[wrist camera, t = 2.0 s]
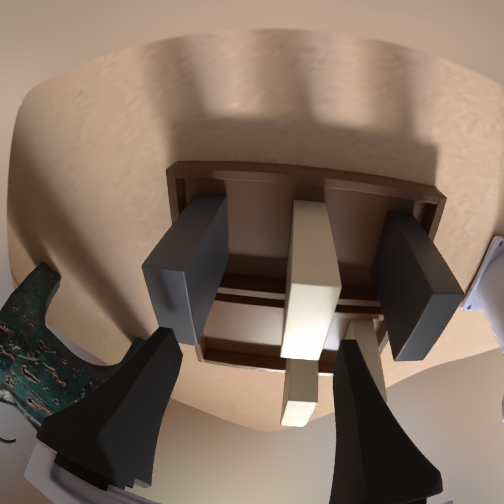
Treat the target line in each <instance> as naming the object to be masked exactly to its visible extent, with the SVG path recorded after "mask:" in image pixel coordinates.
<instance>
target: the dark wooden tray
mask: <svg viewBox="0 0 504 504" xmlns="http://www.w3.org/2000/svg"><path fill="white" fill-rule="evenodd" d="M166 176H167V185H168V194H169V202H170V210H171V218H172V224H173V223H174V222H175V221H176V219H177V218H178V217H179V216H180V214H181V213H182V212H183V211H184V209H185V208H186V207H187V206H188V204H189V203H190V202H191V201H192V200H193V198H194V197H195V196H196V195H197V194H198V193H203V194H224V195H227V212H228V244H229V260H228V263H227V265H226V268H225V271H224V274H223V277H222V279H221V282H220V285H219V288H218V290H217V293H225V294H234V295H243V296H252V297H261V298H271V299H281V300H285V291H286V278H287V263H288V254H289V245H290V235H291V225H292V214H293V203H294V200H303V201H313V202H323V203H325V204H326V208H327V213H328V217H329V222H330V227H331V231H332V236H333V241H334V246H335V251H336V257H337V262H338V268H339V273H340V279H341V285H342V288H341V292H340V295H339V299H338V302H337V304H341V305H356V306H373V307H381V306H380V302H379V299H378V295H377V291H376V288H375V285H374V281H373V278H372V275H371V269H372V265H373V262H374V259H375V256H376V252H377V249H378V245H379V242H380V238H381V235H382V231H383V227H384V223H385V219H386V215H387V212H388V211H393V212H400V213H406V214H412V215H414V217H415V218H416V219H417V221H418V222H419V224H420V225H421V226H422V228H423V229H424V230H425V232H426V233H427V235H428V236H429V238H430V239H431V240H432V242H433V240H434V237H435V234H436V232H437V229H438V226H439V223H440V219H441V216H442V213H443V210H444V206H445V203H446V199H447V198H446V197H445V196H444V195H443V194H442V193H441V192H440V191H439V190H438V189H437V188H436V187H434V186H429V185H425V184H420V183H415V182H410V181H405V180H399V179H394V178H388V177H383V176H377V175H370V174H364V173H357V172H350V171H342V170H335V169H326V168H317V167H308V166H297V165H286V164H272V163H256V162H235V161H177V162H175V163H174V164H173V165H171V166H170V167H168V168H167V169H166Z"/></svg>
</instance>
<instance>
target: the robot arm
mask: <svg viewBox="0 0 504 504" xmlns="http://www.w3.org/2000/svg"><path fill="white" fill-rule="evenodd" d="M461 309H462V310H463V311H474V310H483V312H484V314H485V316H486V318H487V320H488V322H489V324H490V326H491V328H492V330H493V332H494V334H495V337H496V339H497V341H498V343H499V345H500V348H501V350H502V352H503V354H504V237H502V236H495V237H494V238H493V240H492V242H491V245H490V247H489V249H488V252H487V254H486V256H485V258H484V261H483V263H482V265H481V267H480V269H479V271H478V273H477V275H476V277H475V279H474V281H473V283H472V285H471V287H470V289H469V291H468V293H467V295H466V296H465V298H464V300H463V302H462V304H461ZM182 358H183V354H182V351H181V349H180V347H179V344H178V342H177V339H176V337H175V334H174V332H173V329H172V328H167V327H159V328H158V329H157V330H156V331H155V332H154V333H153V334H152V335H151V337H150V338H149V339H148V340H147V341H146V342H145V343H144V344H143V345H142V346H141V347H140V349H139V350H138V351H137V352H136V353H135V354H134V355H133V356H132V357H131V358H130V359H129V360H128V361H127V362H126V363H125V364H124V365H123V366H122V367H121V368H120V369H119V370H118V371H117V372H116V373H115V374H113V375H112V376H111V377H110V378H109V379H108V380H107V381H105V382H104V383H103V384H102V385H100V386H99V387H98V388H97V389H95V390H94V391H92V392H91V393H90V394H88V395H87V396H85V397H84V398H82V399H81V400H79V401H77V402H76V403H74V404H72V405H70V406H69V407H67V408H65V409H63V410H61V411H59V412H56V413H54V414H52V415H50V416H47V417H45V418H44V420H43V422H42V424H41V426H40V428H39V430H38V433H37V435H36V437H37V439H39V440H40V441H41V442H43V443H44V444H46V445H47V446H49V447H50V448H52V449H53V450H55V451H57V455H56V454H55V453H53V452H51V451H50V450H49V449H47V448H46V447H44V446H42V445H41V444H39V443H37V444H36V447H35V449H34V451H33V454H32V456H31V458H30V461H29V463H28V466H27V468H26V471H25V474H24V478H25V479H27V480H28V481H29V482H30V483H31V484H32V485H34V486H35V487H36V488H37V489H38V490H40V491H41V492H42V493H43V494H44V495H45V496H46V497H48V498H49V499H50V500H51V501H52V502H53V503H54V504H160V503H156V502H154V501H151V500H148V499H145V498H143V497H140V496H137V495H135V494H132V493H130V492H127V491H125V490H124V489H125V486H127V487H130V488H133V485H134V484H135V485H138V486H141V487H143V488H147V487H150V486H151V483H152V482H151V481H152V470H153V461H154V455H155V449H156V443H157V438H158V434H159V430H160V425H161V421H162V418H163V415H164V412H165V409H166V406H167V404H168V401H169V399H170V396H171V393H172V391H173V388H174V386H175V383H176V380H177V377H178V375H179V371H180V367H181V362H182ZM333 395H334V408H335V421H336V453H335V465H334V474H333V482H332V490H331V496H330V501H329V504H426V503H427V501H426V500H427V497H430V496H433V495H436V494H439V493H441V492H442V491H443V486H442V478H441V474H440V471H439V470H438V469H437V468H436V467H435V466H433V465H432V464H431V463H430V462H429V460H428V459H426V457H425V456H424V455H423V454H422V453H421V452H420V451H419V449H418V448H417V447H416V446H415V445H414V443H413V442H412V441H411V440H410V438H409V437H408V436H407V434H406V433H405V432H404V430H403V429H402V428H401V426H400V425H399V423H398V422H397V420H396V419H395V417H394V416H393V414H392V412H391V411H390V409H389V408H388V406H387V405H386V402H385V401H384V399H383V397H382V395H381V393H380V391H379V390H378V388H377V386H376V384H375V382H374V379H373V377H372V375H371V373H370V371H369V369H368V367H367V365H366V362H365V360H364V358H363V355H362V353H361V350H360V348H359V345H358V342H357V340H355V339H341V341H340V345H339V348H338V352H337V355H336V359H335V362H334V366H333ZM502 418H503V423H504V396H503V402H502ZM442 504H453V501H448V502H445V503H442Z"/></svg>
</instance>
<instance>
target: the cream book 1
mask: <svg viewBox="0 0 504 504" xmlns="http://www.w3.org/2000/svg"><path fill="white" fill-rule="evenodd" d="M341 288H342V285H341V279H340V273H339V268H338V262H337V257H336V251H335V246H334V241H333V236H332V231H331V227H330V222H329V217H328V213H327V208H326V204H325V203H323V202H313V201H303V200H294V203H293V214H292V225H291V235H290V245H289V254H288V263H287V278H286V291H285V304H284V316H283V328H282V339H281V349H280V357H283V358H295V359H309V360H319V357H320V355H321V352H322V349H323V346H324V343H325V340H326V337H327V334H328V331H329V328H330V325H331V322H332V318H333V315H334V312H335V309H336V305H337V302H338V299H339V295H340V292H341Z"/></svg>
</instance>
